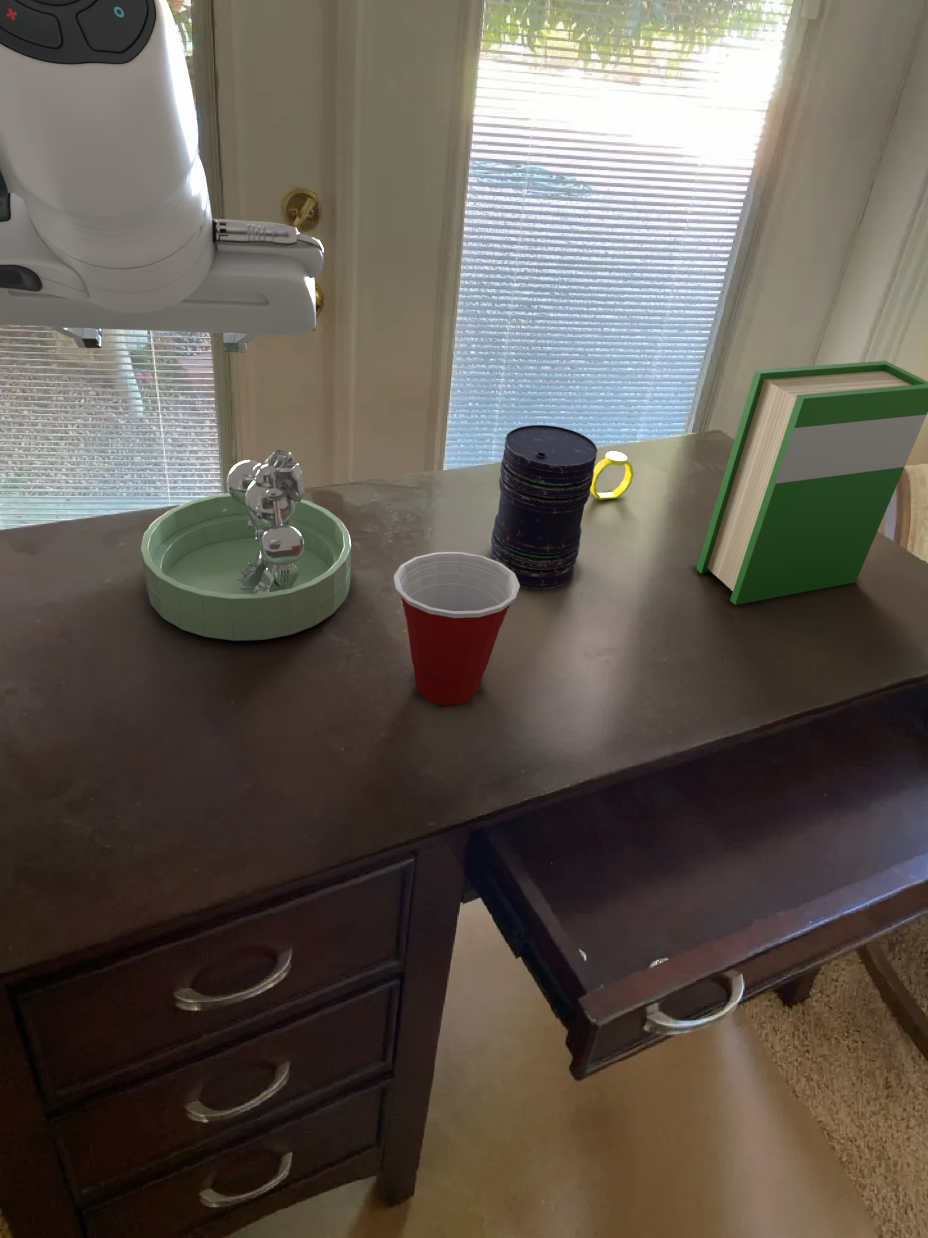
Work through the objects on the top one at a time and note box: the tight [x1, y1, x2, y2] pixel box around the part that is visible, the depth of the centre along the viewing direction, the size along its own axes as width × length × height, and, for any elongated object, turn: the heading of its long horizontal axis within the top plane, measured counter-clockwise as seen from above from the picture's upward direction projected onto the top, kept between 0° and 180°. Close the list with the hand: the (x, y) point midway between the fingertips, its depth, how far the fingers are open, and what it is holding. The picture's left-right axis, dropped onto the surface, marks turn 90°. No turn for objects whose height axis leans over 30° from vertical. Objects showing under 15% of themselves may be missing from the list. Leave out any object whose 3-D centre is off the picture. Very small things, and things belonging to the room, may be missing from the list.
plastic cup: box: [393, 551, 521, 707], centre depth 79 cm, size 11×11×12 cm
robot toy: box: [226, 448, 305, 594], centre depth 88 cm, size 15×6×15 cm, turn 25°
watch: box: [590, 451, 635, 501], centre depth 114 cm, size 6×3×6 cm, turn 115°
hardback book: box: [696, 360, 928, 606], centre depth 97 cm, size 18×7×24 cm, turn 113°
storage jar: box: [489, 424, 598, 590], centre depth 96 cm, size 10×10×15 cm
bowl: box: [140, 492, 352, 642], centre depth 91 cm, size 20×20×6 cm
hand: (164, 340), depth 61 cm, fingers open, 8 cm apart
